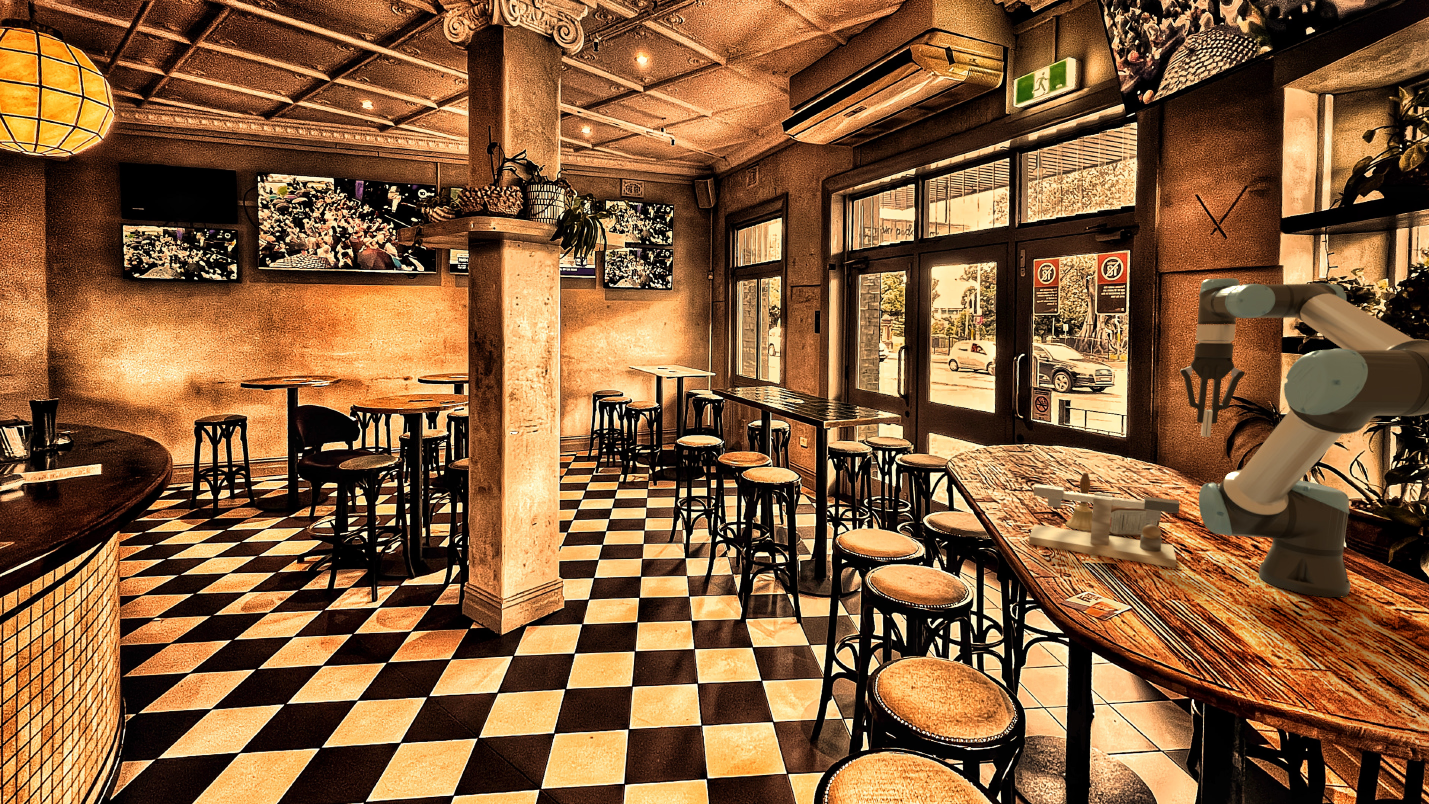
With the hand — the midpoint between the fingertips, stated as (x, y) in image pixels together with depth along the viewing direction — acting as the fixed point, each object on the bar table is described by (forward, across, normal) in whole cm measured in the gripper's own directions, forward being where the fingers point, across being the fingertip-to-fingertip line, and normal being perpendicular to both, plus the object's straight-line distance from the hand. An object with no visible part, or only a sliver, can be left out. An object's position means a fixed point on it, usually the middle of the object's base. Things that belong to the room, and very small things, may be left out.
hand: (1205, 435), depth 161 cm
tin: (+31, +14, -7) cm, 35 cm away
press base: (+30, +21, +10) cm, 38 cm away
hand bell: (+31, +26, -8) cm, 41 cm away
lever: (+21, +21, +10) cm, 31 cm away
